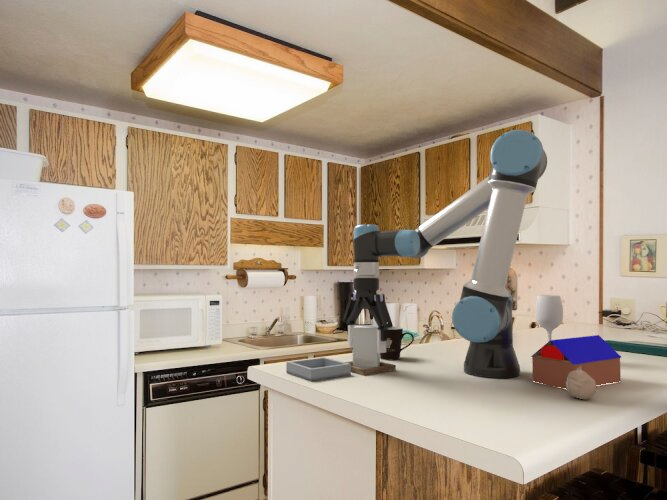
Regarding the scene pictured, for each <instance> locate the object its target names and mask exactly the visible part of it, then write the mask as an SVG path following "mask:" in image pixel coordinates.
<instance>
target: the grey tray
mask: <svg viewBox="0 0 667 500" xmlns="http://www.w3.org/2000/svg"><path fill="white" fill-rule="evenodd" d="M345 362H346V361H341V360H338V359H337V360H336V359H333V358H329V357H325V356H323V357H317V358H308V359H306V358H305V359H301V360H300V359H298V360H292V361H291V360H290V361H286V362H285V363H286V365H285V367H286V369H285V370H286V372H287V373H286V374H289V375H292V376H296V377H298V378H300V377H301V379H303V378H304V380H306V381H310V382H315V381H320V380H321V381H322V380H326V379H333V378H338V377H339V378H341V377H346V376H351V373H352V372H351V364H349V363H345Z"/></svg>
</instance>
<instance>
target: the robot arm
mask: <svg viewBox="0 0 667 500" xmlns="http://www.w3.org/2000/svg"><path fill="white" fill-rule="evenodd" d="M543 147H544V146H543V144H542V142H541V140H540V139H539V137H537V135H535V134H534V133H533V132H530V131H528V130H524V129H513V130H510V131H509V130H508V131H506V132H504V133H503V134H501V135H500V136H499V137H497V138H496V140H495V141H494V142H493V144H492V146H491V149H490V152H489V153H490V154H489V155H490V157H489V159H490V163H491V167H490V170H489V175H488V176H487V177H485V178H484V179H483V180H482V181H480V182H479V183H477V184H476V185H474V186H473V187H472V188H470V189H469V190H468V191H466V192H465V193H463V194H462V195H461V196H459V197H458V198H456V199H455V200H454V201H452V202H451V203H449V204H448V205H446V206H445V207H444V208H442V209H441V210H440V211H438V212H437V213H436V214H434V215H433V216H431V217H430V218H428V219H427V220H426V221H424V222H423V223H422V224H420V225H419V226H417V227H416V228H415V229H397V230H384V231H383V230H380V228H379V226H378V224H377V225H376V224H358V225H355V226H354V227H353V239H352V242H353V276H355V277H354V278H353V290H354V291H356V292H349V293H348V300H347V301H348V302H347V303H346V307H345V312H344V314H343V317H342V322H343V323H346V325H347V347H348V348H353V327H355V326H356V325H357V320H358V318H359V316H360V315H361V313H362V311H363V310H364V309H365V310H368V311H370V313H371V315H372V317H373V319H374V321H375V323H376V325H378V327H379V328H378V330H377V353H385V352H386V341H387V329H388V328H391V327H394V326H393V321H392V319H391V316H390V315H391V314H390V313H389V310H388V307H387V306H388V305H387V304H386V297H385V294H384V293H377V291H379V290H380V279H379V278H378V277H379V276H380V257H381V258H384V257H385V258H386V257H393V258H394V257H398V258H399V257H400V258H409V259H419V258H423V257H425V256H426V255H427V254H428V253H429V250H430V249H431V248H433V247H434V246H436V245H437V244H439V243H440V242H442V241H443V240H444V239H446V238H448V237H449V236H450V235H452V234H454V233H455V232H457V231H458V230H460V228H462V227H464V226H465V225H467V224H468V223H470V222H472V221H473V220H474V219H476V218H477V217H478V216H480V215H481V214H483V213H485V211H486V216H485V219H484V224H483V228H482V233H481V236H480V241H479V245H478V249H477V253H476V258H475V261H474V265H473V270H472V273H471V279H470V280H469V281H467V282H465V283H464V284H463V286H462V290H461V294H460V298H459V301H458V302H456V304H455V306H454V308H453V310H452V315H451V320H452V325H453V327H454V329H455V330H456V331H455V332H456V333H457V334H458V335H459V336H460V337H461V338H462V339H464V340H466V341H468V342H469V346H468V349H467V352H466V356H465V359H464V361H463V372H464V373H466V374H469V375H471V376H477V377H482V378H483V377H484V378H485V377H486V378H494V379H497V378H498V379H499V378H502V379H505V378H508V379H509V378H515V377H516V378H517V377H519V376H521V366H520V365H521V364H519V360H518V357H517V354H516V351H515V348H514V341H513V340H514V338H513V337H514V336H513V334H514V333H513V332H514V331H513V305H514V302H513V296H512V294H511V293H510V291H507V289H506V286H507V282H508V277H509V273H510V269H511V265H512V260H513V256H514V252H515V248H516V245H517V240H518V237H519V232H520V228H521V223H522V219H523V216H524V211H525V207H526V203H527V200H528V196H529V195H530V194H532V193H533V192H535V191H536V189H537V184H538V181H539V180H540V179H541V177H542V176H543V175H544V173H545V171H546V169H547V166H548V156H547V153H546V151H545V149H544V148H543Z"/></svg>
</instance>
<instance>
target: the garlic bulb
mask: <svg viewBox="0 0 667 500" xmlns="http://www.w3.org/2000/svg"><path fill="white" fill-rule="evenodd" d="M581 369H582V367H581V365H580V366H579V367H577V368H576V370H574V371H572V372H570V373H569V374H568V378H567V379H566V382H565V383H566V388H567V390H566V391H567V393H568V394H569V395H570V396H572V397H573V398H575V397H576V398H575V399H578V398H579V400H581V399H586V400H589V399H591V398H592V397H593V396H594V395H595V394H596V391H597V387H596V382H595V380H594V379H593V378H591V377H590V376H589V375H588V374H587V373H586V372H584V371H582V370H581Z"/></svg>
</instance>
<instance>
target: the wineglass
mask: <svg viewBox="0 0 667 500" xmlns="http://www.w3.org/2000/svg"><path fill="white" fill-rule="evenodd" d="M534 308H535V309H534V310H535V311H534V314H535V315H534V316H535V320H536V322H537V323H538V325H539V326H540V327H542V328H543V329H545V330H546V334H547V343H548V342H549V341H550V340H552V334H553V331H554V330H555V329H556V328H558V327H559V326H560V325H561V324H562V322H563V319H564V307H563V302H562V298H561V295H559V294H538V295H537V297H536V301H535V307H534Z"/></svg>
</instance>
